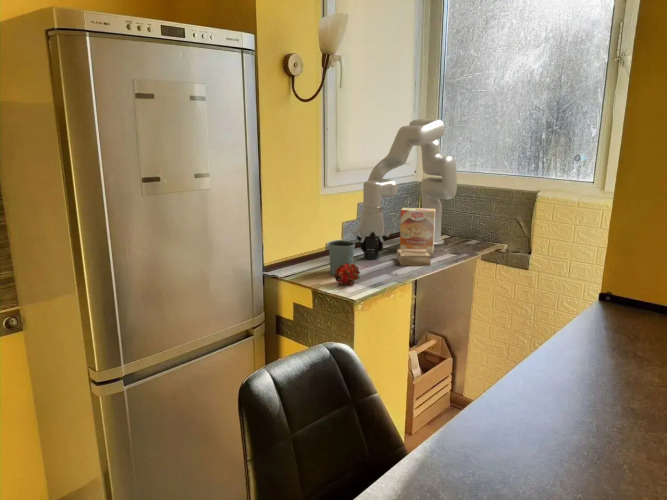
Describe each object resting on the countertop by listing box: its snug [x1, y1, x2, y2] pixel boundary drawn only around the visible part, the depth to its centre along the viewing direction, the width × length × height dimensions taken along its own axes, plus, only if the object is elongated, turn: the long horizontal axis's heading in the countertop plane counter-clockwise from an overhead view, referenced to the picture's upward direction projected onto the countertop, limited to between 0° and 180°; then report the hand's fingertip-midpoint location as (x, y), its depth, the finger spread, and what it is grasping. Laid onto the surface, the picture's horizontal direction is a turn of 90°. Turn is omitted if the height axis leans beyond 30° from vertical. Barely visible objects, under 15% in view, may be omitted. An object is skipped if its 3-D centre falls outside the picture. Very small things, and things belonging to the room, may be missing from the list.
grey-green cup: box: [328, 239, 356, 276], centre depth 203 cm, size 10×10×12 cm
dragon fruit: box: [333, 262, 361, 286], centre depth 189 cm, size 8×8×12 cm
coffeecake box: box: [399, 207, 436, 255], centre depth 236 cm, size 15×7×20 cm, turn 76°
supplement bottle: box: [363, 232, 380, 261], centre depth 225 cm, size 7×7×12 cm
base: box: [396, 248, 432, 266], centre depth 220 cm, size 12×12×4 cm
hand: (371, 250), depth 226 cm, fingers closed on supplement bottle, 6 cm apart
